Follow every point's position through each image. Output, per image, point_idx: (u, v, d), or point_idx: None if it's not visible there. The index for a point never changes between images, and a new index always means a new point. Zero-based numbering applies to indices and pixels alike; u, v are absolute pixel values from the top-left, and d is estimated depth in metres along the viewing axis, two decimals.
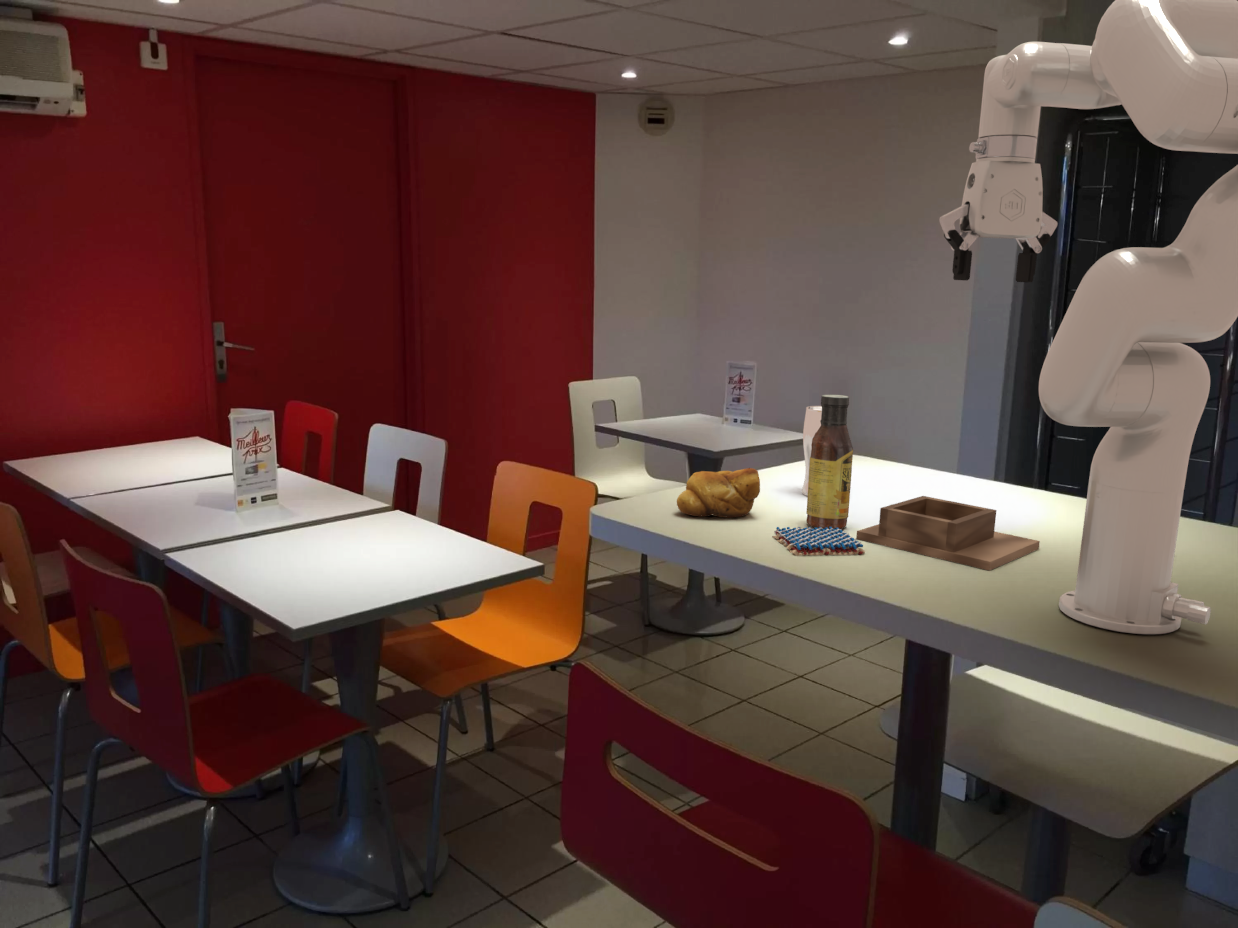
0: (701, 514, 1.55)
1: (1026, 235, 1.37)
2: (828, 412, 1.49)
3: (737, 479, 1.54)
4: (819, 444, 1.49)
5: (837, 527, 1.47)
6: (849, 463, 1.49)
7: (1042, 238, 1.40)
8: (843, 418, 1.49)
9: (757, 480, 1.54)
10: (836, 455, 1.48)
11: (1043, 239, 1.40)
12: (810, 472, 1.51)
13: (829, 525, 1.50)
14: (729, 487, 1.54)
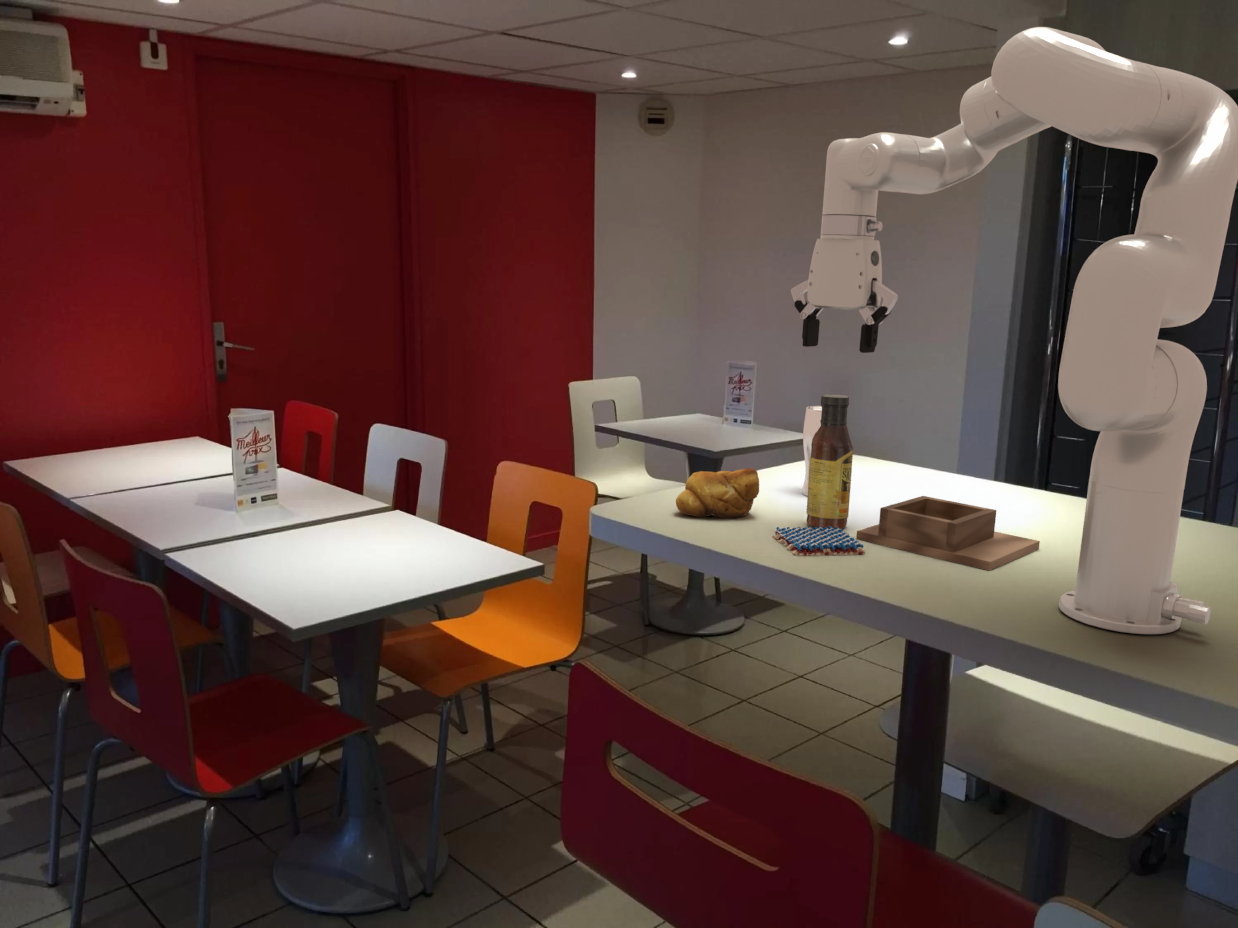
0: (700, 514, 1.55)
1: None
2: (828, 412, 1.49)
3: (736, 479, 1.54)
4: (819, 444, 1.49)
5: (837, 527, 1.47)
6: (849, 463, 1.49)
7: (807, 305, 1.52)
8: (843, 418, 1.49)
9: (756, 480, 1.54)
10: (836, 455, 1.48)
11: None
12: (810, 472, 1.51)
13: (829, 525, 1.50)
14: (728, 487, 1.54)
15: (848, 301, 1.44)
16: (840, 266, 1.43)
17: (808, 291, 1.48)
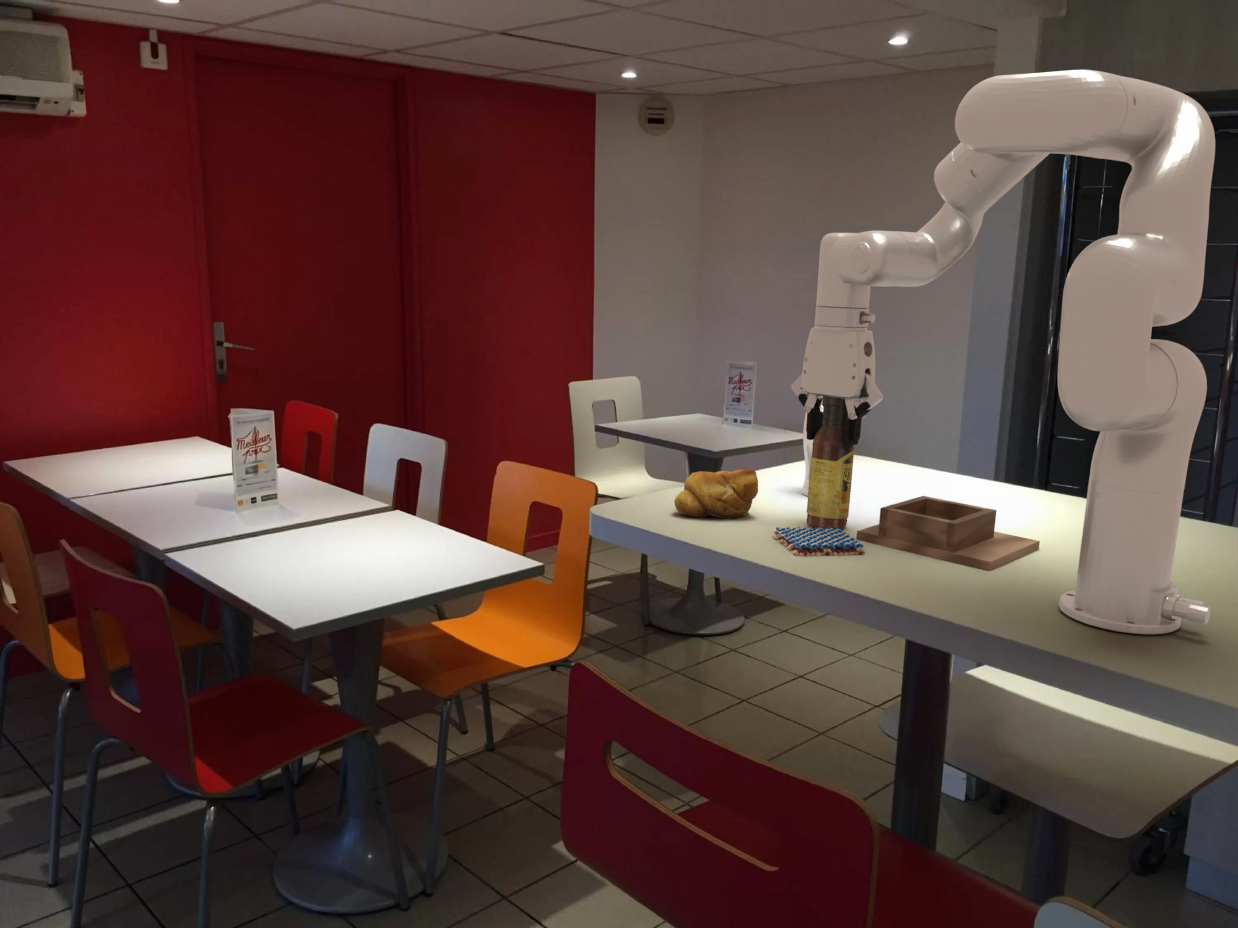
0: (699, 514, 1.55)
1: None
2: (830, 412, 1.48)
3: (734, 479, 1.54)
4: (820, 444, 1.49)
5: (837, 527, 1.47)
6: (850, 463, 1.49)
7: None
8: (845, 418, 1.49)
9: (755, 480, 1.54)
10: (837, 455, 1.48)
11: None
12: (811, 472, 1.51)
13: (829, 525, 1.50)
14: (727, 487, 1.54)
15: (842, 391, 1.46)
16: (834, 356, 1.46)
17: (803, 378, 1.50)
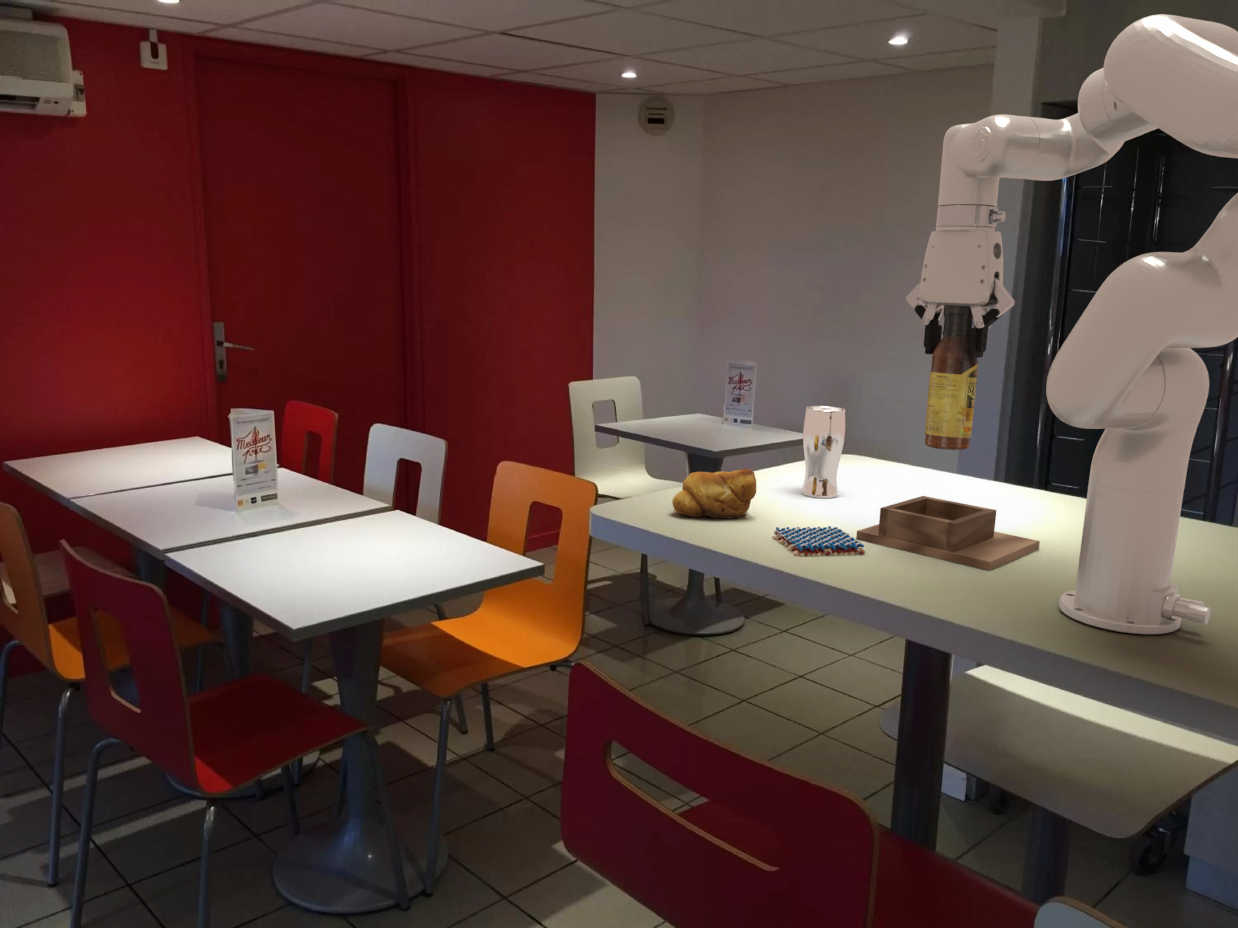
0: (696, 515, 1.55)
1: None
2: (953, 322, 1.37)
3: (732, 480, 1.54)
4: (942, 356, 1.38)
5: (836, 527, 1.47)
6: (974, 377, 1.38)
7: None
8: (969, 328, 1.37)
9: (753, 481, 1.54)
10: (962, 368, 1.37)
11: None
12: (931, 388, 1.40)
13: (952, 445, 1.38)
14: (725, 487, 1.54)
15: (968, 297, 1.35)
16: (959, 260, 1.35)
17: (921, 287, 1.39)
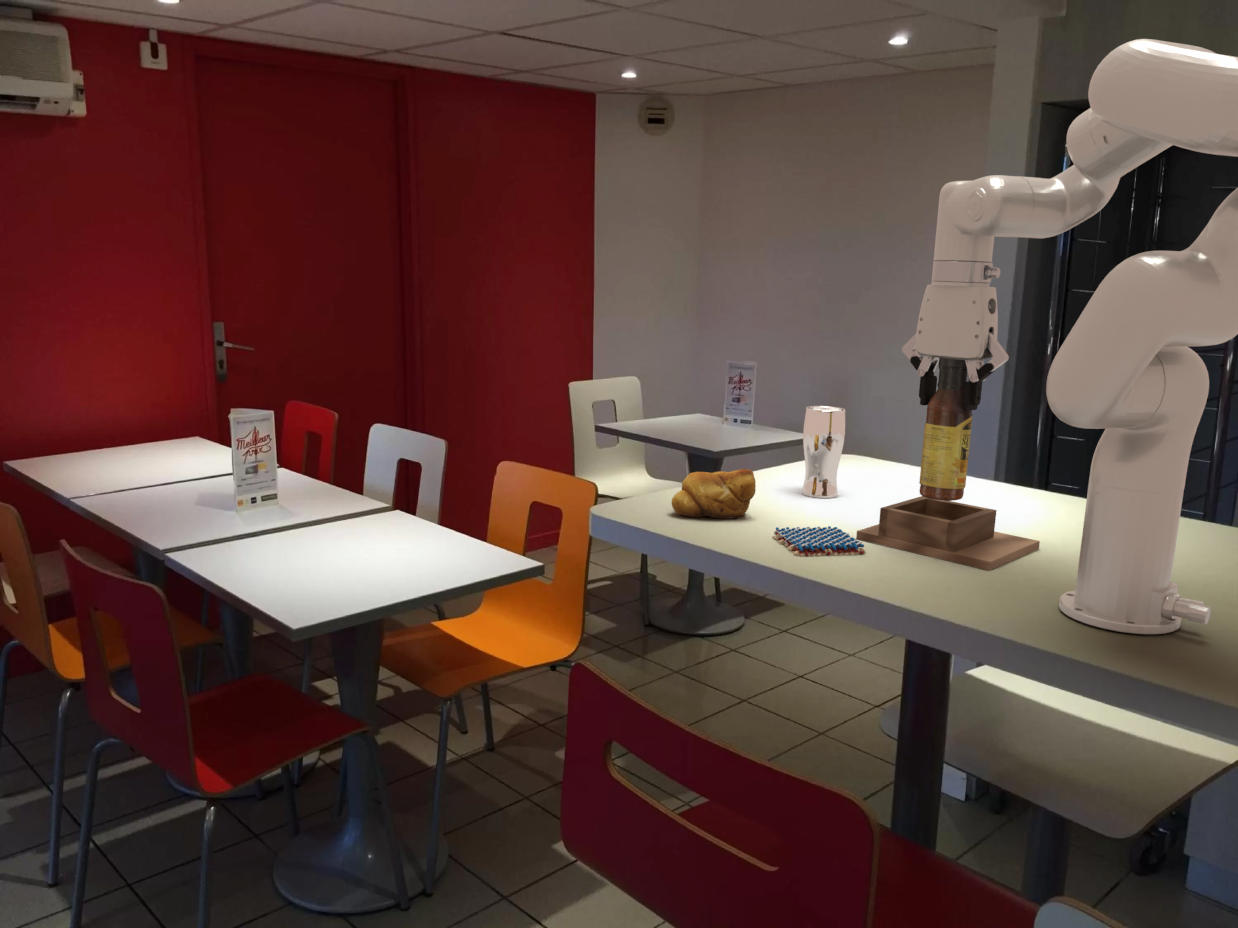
0: (695, 515, 1.55)
1: None
2: (947, 375, 1.39)
3: (731, 480, 1.54)
4: (937, 409, 1.39)
5: (836, 527, 1.47)
6: (969, 429, 1.39)
7: None
8: (963, 380, 1.39)
9: (752, 481, 1.54)
10: (956, 421, 1.38)
11: None
12: (926, 439, 1.41)
13: (946, 496, 1.40)
14: (724, 487, 1.54)
15: (962, 351, 1.36)
16: (954, 314, 1.36)
17: (917, 339, 1.41)
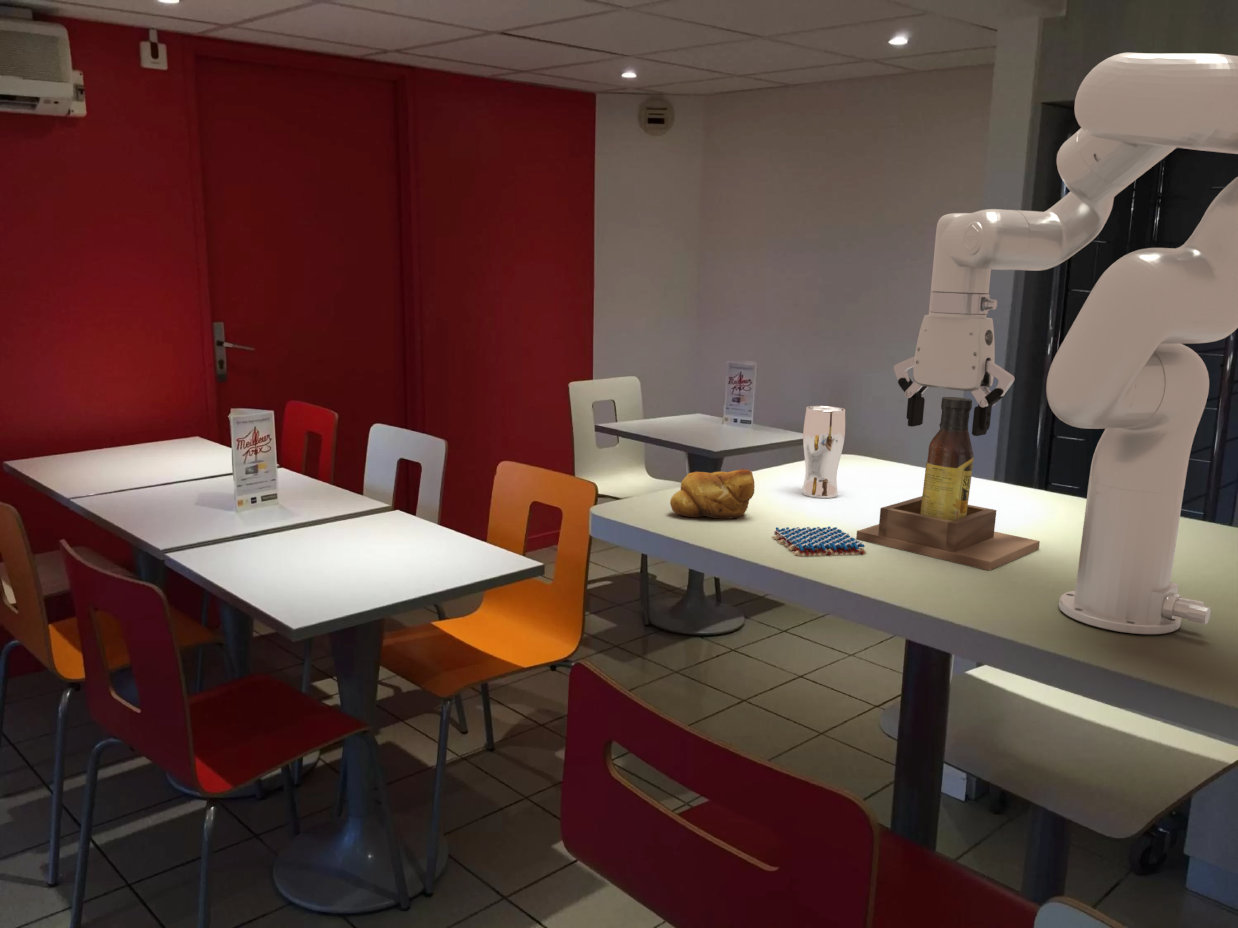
0: (694, 515, 1.55)
1: None
2: (950, 416, 1.39)
3: (730, 480, 1.54)
4: (939, 449, 1.40)
5: (836, 527, 1.47)
6: (970, 470, 1.40)
7: None
8: (966, 422, 1.40)
9: (751, 481, 1.53)
10: (958, 462, 1.39)
11: None
12: (927, 479, 1.42)
13: None
14: (722, 487, 1.53)
15: (960, 382, 1.37)
16: (951, 345, 1.37)
17: (914, 369, 1.41)
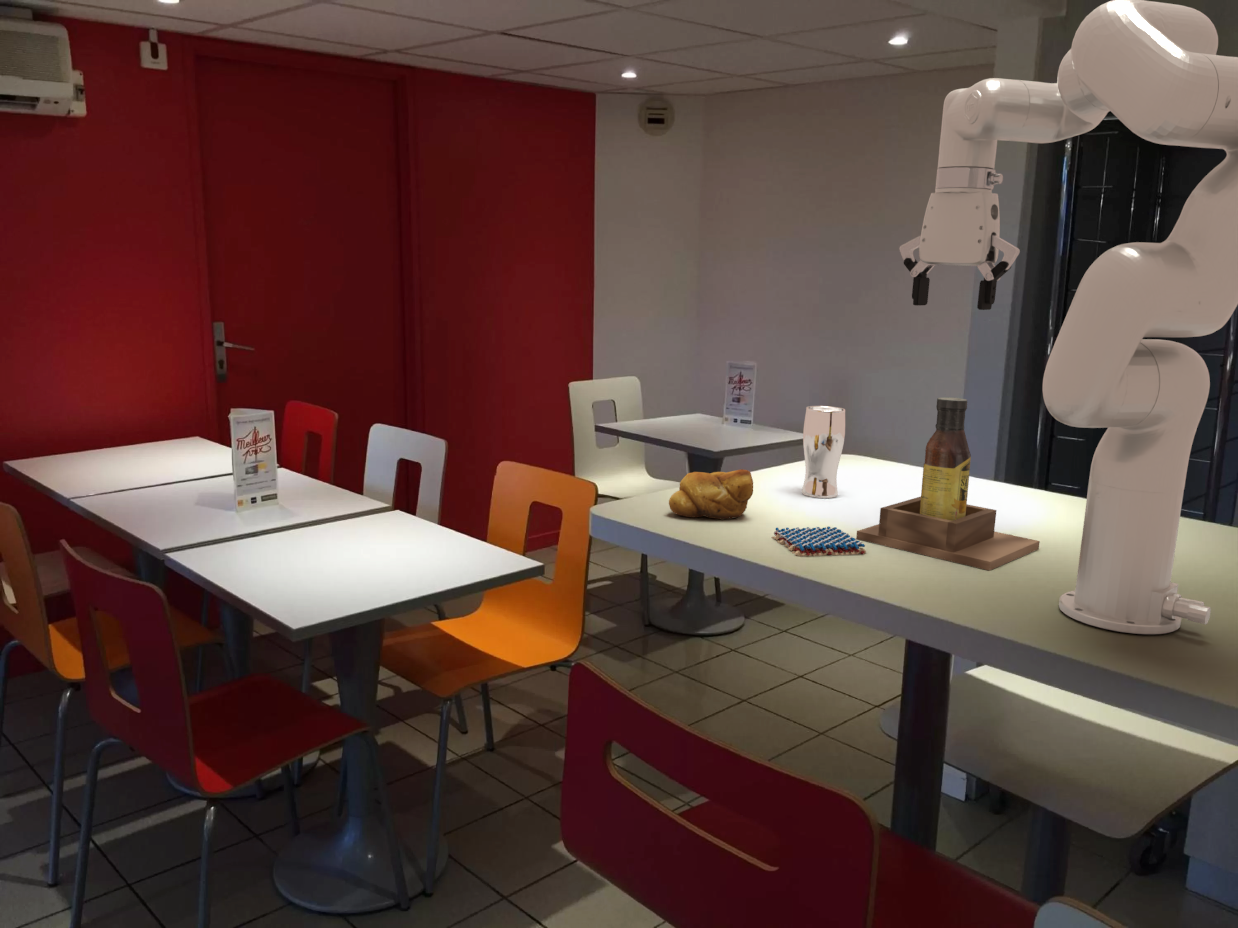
0: (692, 515, 1.55)
1: None
2: (945, 416, 1.40)
3: (728, 480, 1.53)
4: (935, 450, 1.40)
5: (835, 527, 1.47)
6: (967, 470, 1.40)
7: (916, 262, 1.48)
8: (961, 422, 1.40)
9: (749, 481, 1.53)
10: (955, 462, 1.39)
11: None
12: (924, 480, 1.42)
13: None
14: (721, 488, 1.53)
15: (965, 257, 1.39)
16: (958, 220, 1.39)
17: (921, 248, 1.44)
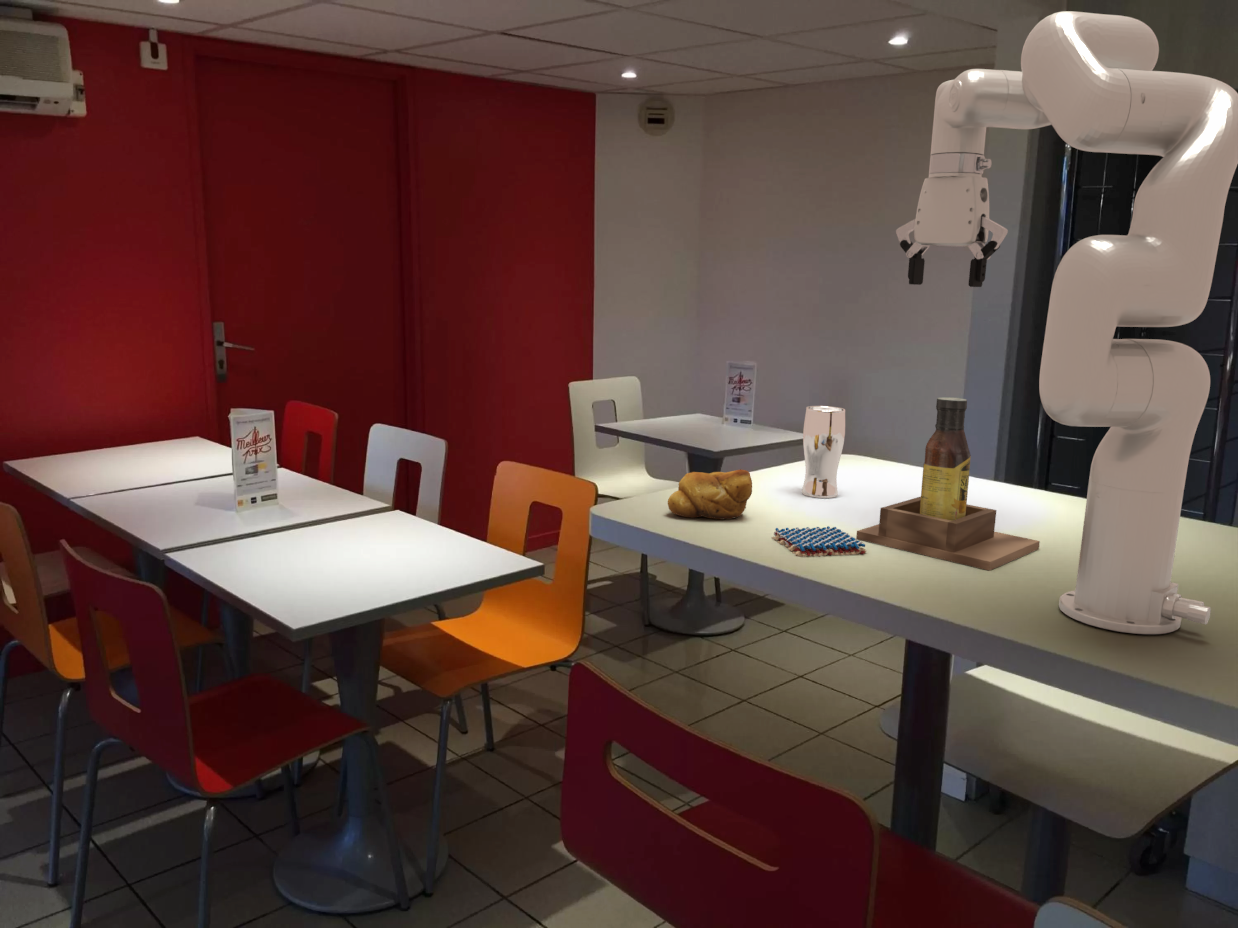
0: (691, 515, 1.54)
1: None
2: (945, 416, 1.40)
3: (727, 480, 1.53)
4: (935, 450, 1.40)
5: (835, 527, 1.47)
6: (967, 470, 1.40)
7: (912, 244, 1.57)
8: (961, 422, 1.40)
9: (748, 482, 1.53)
10: (955, 462, 1.39)
11: None
12: (924, 480, 1.42)
13: None
14: (719, 488, 1.53)
15: (957, 237, 1.49)
16: (949, 203, 1.49)
17: (915, 230, 1.53)
